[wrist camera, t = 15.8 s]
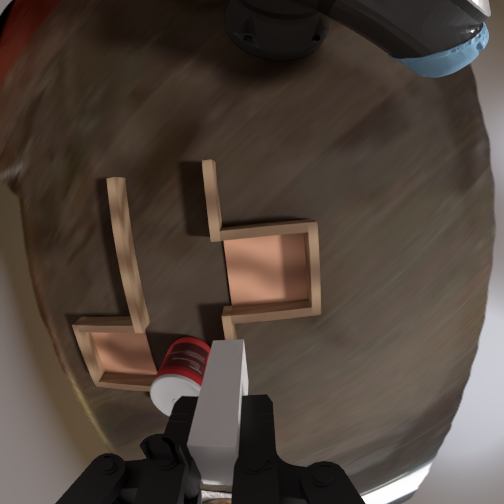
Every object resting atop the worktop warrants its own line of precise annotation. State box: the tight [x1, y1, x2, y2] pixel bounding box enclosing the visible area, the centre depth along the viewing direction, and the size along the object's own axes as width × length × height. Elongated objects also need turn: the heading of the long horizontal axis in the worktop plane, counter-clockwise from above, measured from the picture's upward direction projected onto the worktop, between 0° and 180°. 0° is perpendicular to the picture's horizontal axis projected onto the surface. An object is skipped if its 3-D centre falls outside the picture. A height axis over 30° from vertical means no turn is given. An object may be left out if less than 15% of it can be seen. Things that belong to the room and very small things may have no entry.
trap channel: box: [72, 159, 321, 391], centre depth 38 cm, size 38×38×4 cm
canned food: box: [150, 337, 211, 416], centre depth 36 cm, size 8×8×11 cm
